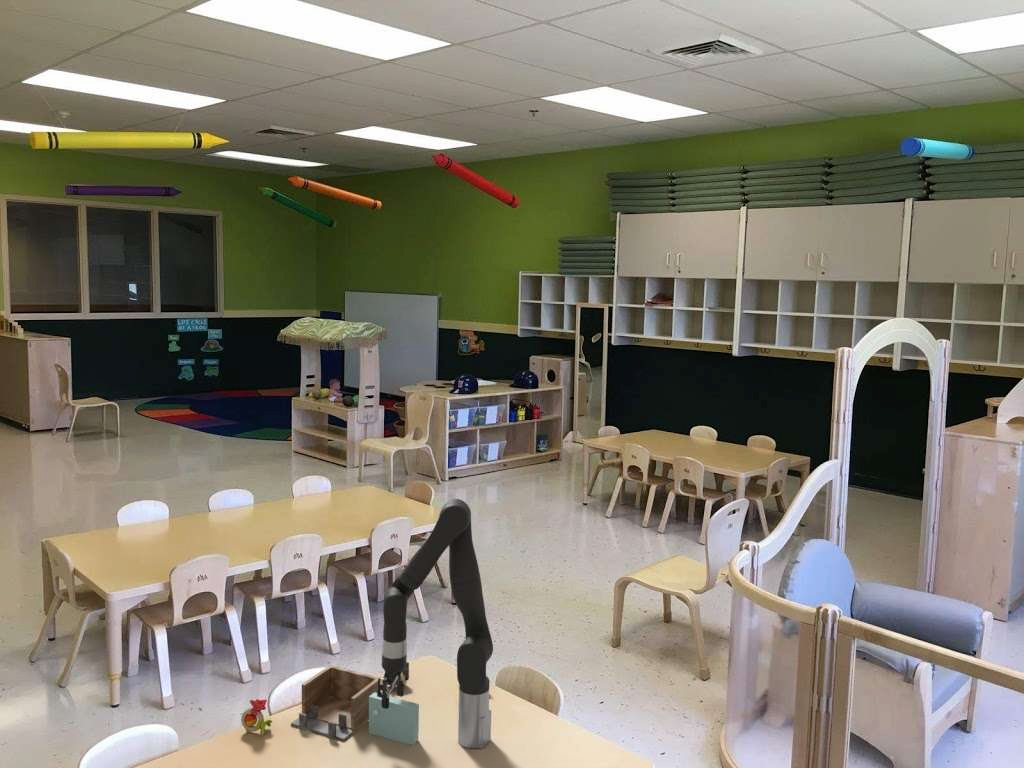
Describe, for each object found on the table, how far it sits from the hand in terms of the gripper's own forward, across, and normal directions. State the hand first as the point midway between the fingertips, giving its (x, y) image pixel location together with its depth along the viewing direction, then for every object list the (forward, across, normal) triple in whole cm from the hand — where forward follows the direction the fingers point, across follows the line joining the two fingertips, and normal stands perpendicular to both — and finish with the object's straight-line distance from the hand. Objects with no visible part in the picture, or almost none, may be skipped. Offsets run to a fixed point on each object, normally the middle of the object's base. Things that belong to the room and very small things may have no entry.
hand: (392, 701), depth 264 cm
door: (+11, 0, -1) cm, 11 cm away
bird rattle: (+12, -18, +38) cm, 44 cm away
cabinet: (+12, +1, +21) cm, 24 cm away
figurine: (+12, +30, +17) cm, 37 cm away
